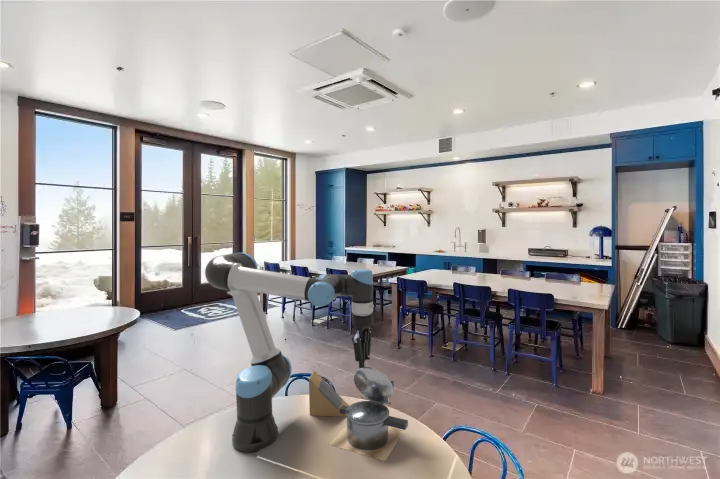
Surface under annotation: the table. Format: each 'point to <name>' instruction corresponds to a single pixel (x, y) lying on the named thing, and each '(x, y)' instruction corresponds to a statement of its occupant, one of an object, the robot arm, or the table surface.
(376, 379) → the lid
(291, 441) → the table surface
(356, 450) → the trivet
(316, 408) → the sandwich container
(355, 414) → the pot
